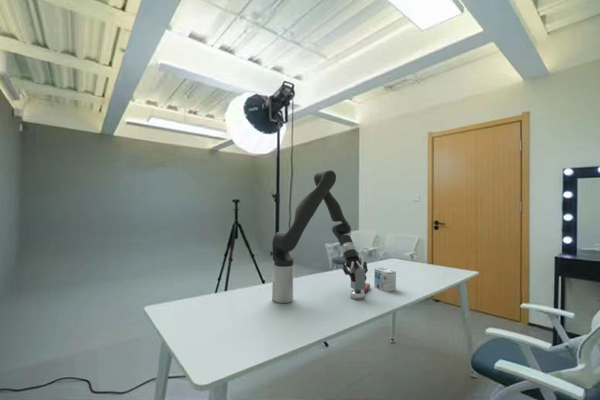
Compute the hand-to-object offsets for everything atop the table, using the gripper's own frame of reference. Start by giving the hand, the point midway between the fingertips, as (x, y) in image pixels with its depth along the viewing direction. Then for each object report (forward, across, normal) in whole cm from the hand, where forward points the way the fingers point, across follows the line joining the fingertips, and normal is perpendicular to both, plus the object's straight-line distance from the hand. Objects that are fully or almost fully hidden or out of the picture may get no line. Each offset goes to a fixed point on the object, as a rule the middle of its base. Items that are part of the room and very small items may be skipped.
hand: (359, 280), depth 142 cm
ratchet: (+1, +5, +12) cm, 13 cm away
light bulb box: (-2, +22, +16) cm, 27 cm away
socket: (+2, 0, +4) cm, 5 cm away
